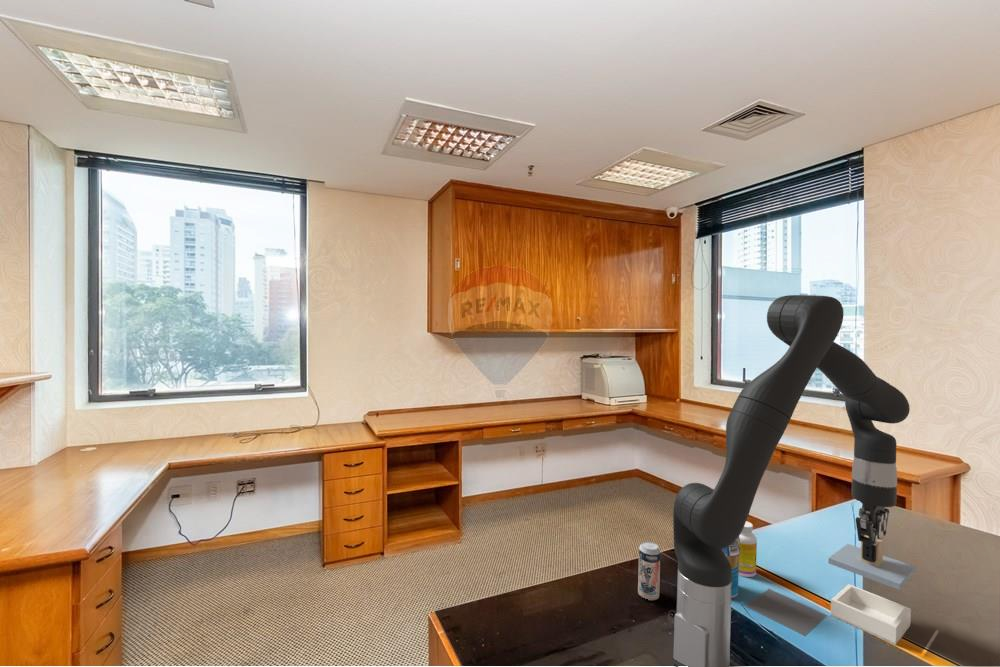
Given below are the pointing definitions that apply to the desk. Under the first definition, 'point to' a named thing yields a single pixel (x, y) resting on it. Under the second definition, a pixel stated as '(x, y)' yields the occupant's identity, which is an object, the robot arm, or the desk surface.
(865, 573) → the lid
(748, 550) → the supplement bottle
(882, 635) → the white rectangular open box
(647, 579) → the beer can
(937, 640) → the desk surface
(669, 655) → the desk surface
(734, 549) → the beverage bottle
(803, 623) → the mat
